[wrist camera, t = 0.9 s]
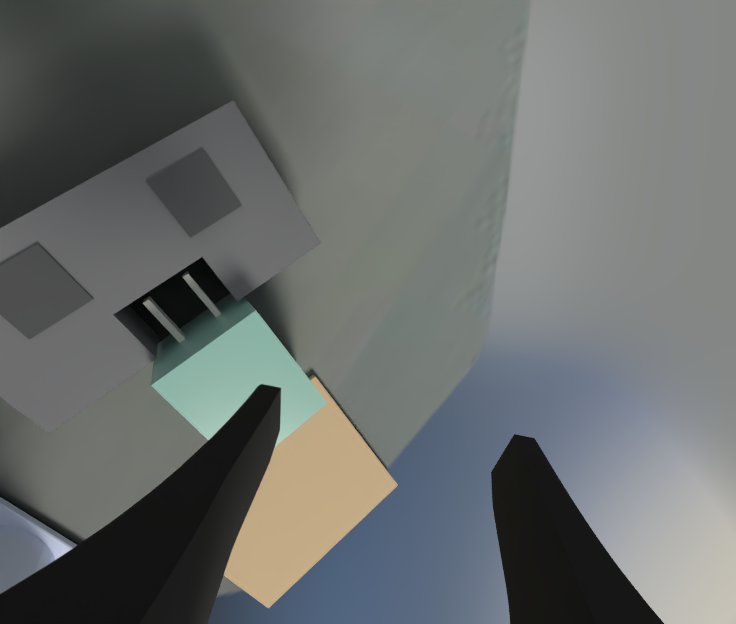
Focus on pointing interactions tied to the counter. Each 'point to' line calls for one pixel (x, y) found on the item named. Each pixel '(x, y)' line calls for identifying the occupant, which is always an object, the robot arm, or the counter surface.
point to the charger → (227, 365)
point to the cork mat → (306, 502)
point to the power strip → (134, 259)
